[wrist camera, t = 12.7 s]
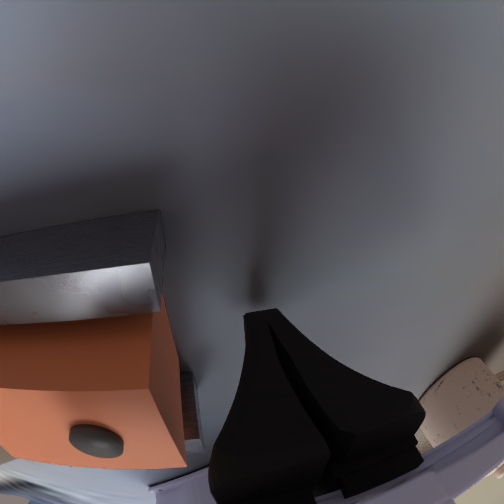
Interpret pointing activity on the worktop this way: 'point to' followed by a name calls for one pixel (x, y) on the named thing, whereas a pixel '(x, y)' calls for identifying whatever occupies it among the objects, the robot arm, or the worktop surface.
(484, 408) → the teacup with lid
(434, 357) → the worktop surface
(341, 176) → the worktop surface
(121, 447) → the block
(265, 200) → the worktop surface
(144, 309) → the coupler channel
